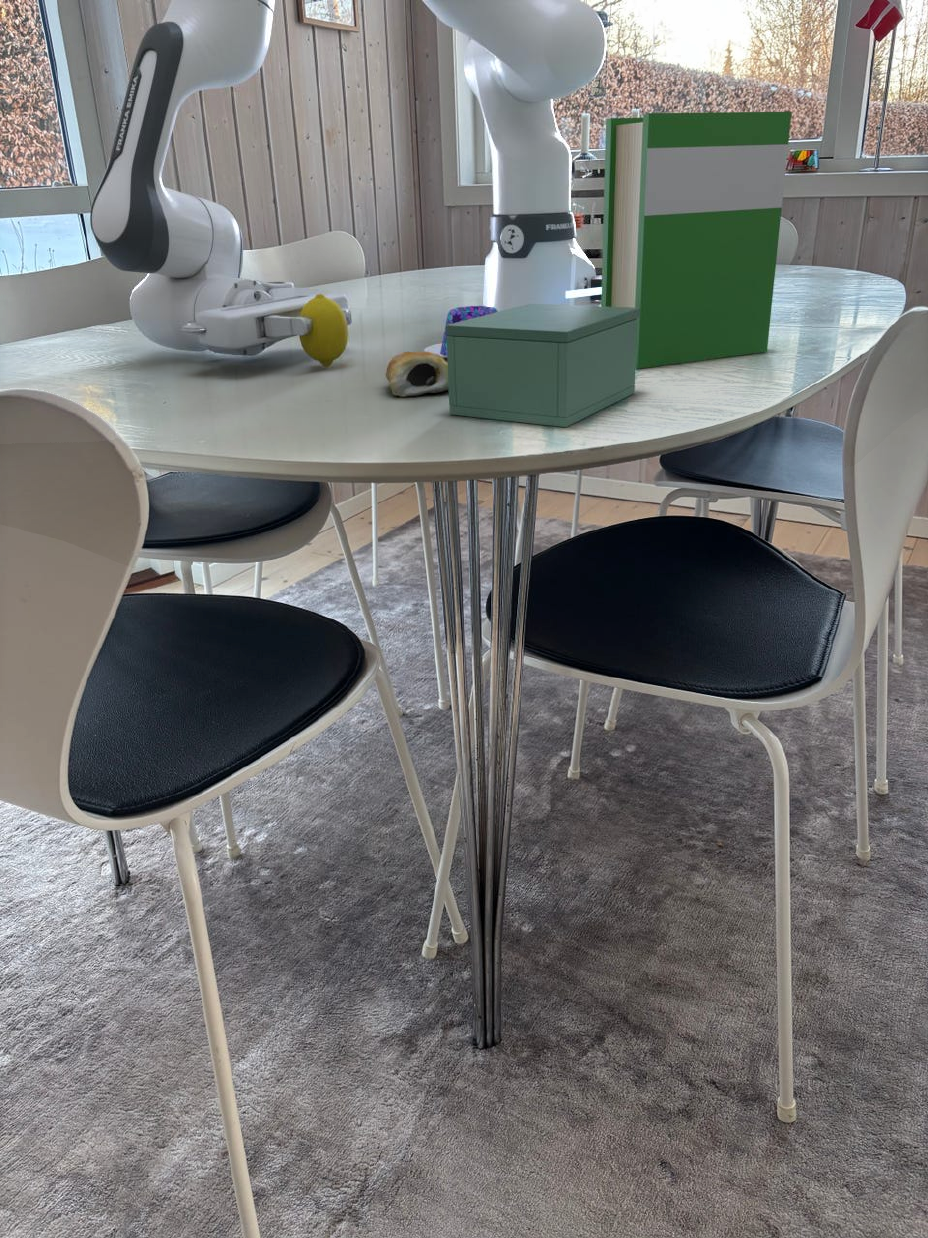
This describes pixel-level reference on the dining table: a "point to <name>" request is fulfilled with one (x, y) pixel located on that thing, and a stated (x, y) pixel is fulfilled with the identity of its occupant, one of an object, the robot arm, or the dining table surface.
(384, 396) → the dining table surface
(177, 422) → the dining table surface
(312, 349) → the lemon
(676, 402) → the dining table surface
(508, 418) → the box
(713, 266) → the hardback book
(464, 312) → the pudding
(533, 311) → the sage green box lid
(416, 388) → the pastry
